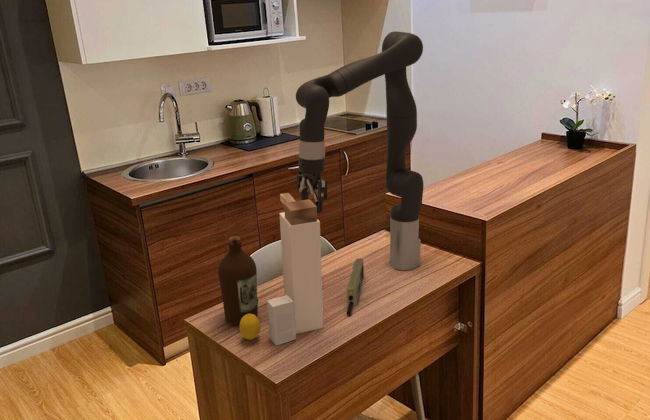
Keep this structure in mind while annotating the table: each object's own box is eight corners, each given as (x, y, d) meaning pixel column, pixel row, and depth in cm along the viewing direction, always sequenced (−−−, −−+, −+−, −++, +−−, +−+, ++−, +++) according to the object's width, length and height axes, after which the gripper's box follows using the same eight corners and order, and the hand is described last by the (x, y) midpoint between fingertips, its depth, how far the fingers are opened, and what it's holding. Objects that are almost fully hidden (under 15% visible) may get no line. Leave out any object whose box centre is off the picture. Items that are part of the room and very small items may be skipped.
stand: (311, 310, 169) (307, 208, 158) (323, 327, 160) (319, 221, 149) (285, 315, 167) (279, 212, 155) (295, 333, 158) (290, 226, 146)
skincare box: (289, 332, 159) (287, 293, 155) (296, 339, 156) (294, 301, 151) (269, 338, 156) (266, 299, 152) (275, 346, 153) (272, 307, 148)
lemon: (244, 347, 153) (241, 321, 150) (238, 336, 158) (235, 311, 155) (264, 342, 155) (262, 316, 152) (257, 331, 160) (255, 306, 157)
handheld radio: (365, 276, 188) (354, 317, 165) (355, 276, 189) (343, 317, 166) (364, 258, 186) (353, 297, 163) (354, 258, 186) (342, 297, 164)
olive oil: (215, 318, 166) (206, 239, 157) (243, 303, 174) (236, 227, 165) (240, 331, 160) (232, 250, 151) (267, 315, 167) (262, 236, 158)
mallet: (296, 198, 165) (295, 185, 164) (317, 221, 149) (316, 206, 148) (272, 201, 163) (271, 188, 162) (291, 225, 147) (290, 210, 145)
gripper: (336, 159, 161) (334, 213, 167) (311, 147, 172) (310, 199, 178) (312, 162, 157) (311, 218, 163) (288, 150, 169) (289, 203, 175)
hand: (311, 208), depth 171 cm, fingers open, 8 cm apart
